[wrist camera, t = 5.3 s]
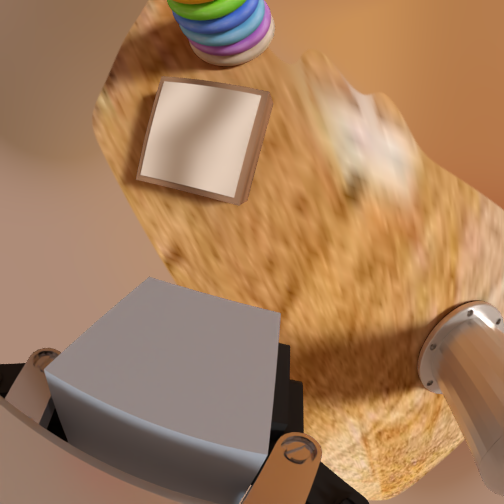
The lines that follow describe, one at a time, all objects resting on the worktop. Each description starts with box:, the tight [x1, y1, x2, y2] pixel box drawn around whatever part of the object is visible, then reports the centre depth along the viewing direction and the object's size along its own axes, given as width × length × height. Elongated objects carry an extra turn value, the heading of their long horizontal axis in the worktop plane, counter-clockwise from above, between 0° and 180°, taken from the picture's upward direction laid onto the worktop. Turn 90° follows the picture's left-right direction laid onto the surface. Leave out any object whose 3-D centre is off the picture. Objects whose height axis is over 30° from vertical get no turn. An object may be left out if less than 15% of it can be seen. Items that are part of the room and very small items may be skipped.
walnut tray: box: [136, 76, 273, 206], centre depth 23 cm, size 9×9×4 cm
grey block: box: [44, 277, 281, 504], centre depth 8 cm, size 5×5×6 cm
